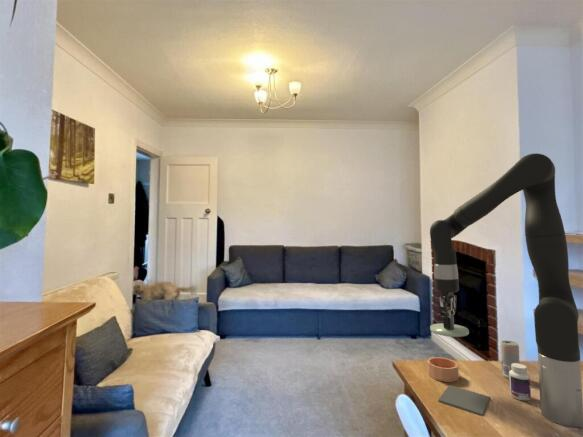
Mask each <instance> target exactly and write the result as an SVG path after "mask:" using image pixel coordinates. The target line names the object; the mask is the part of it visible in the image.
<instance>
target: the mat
mask: <svg viewBox="0 0 583 437" xmlns="http://www.w3.org/2000/svg"><path fill="white" fill-rule="evenodd" d="M437 400H438V401H437V402H439V403H442V404H446V405H449V406H452V407H455V408H458V409H461V410H464V411H467V412H470V413H473V414H476V415H479V416H482V417H483V416H484V414H485V411H486V410H487V406H488V404H489V402H490V400H491V396H489V395H487V394H482V393H479V392H476V391H472V390H469V389H465V388H461V387H458V386H454V385H452V384H449V385H448V386H447V387H446V389H445V390H444V391H443V393H441V395H440V396H439V398H438V399H437Z"/></svg>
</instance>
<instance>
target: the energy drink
mask: <svg viewBox="0 0 583 437" xmlns="http://www.w3.org/2000/svg"><path fill="white" fill-rule="evenodd" d="M500 354H501V355H500V356H501V358H500V359H501V375H502V376H503V377H504V378H506V379H509V371H510V370H512V369H511V364H512V363H518V364H521V361H520V347H519V344H518V343H517V342H516V341H512V340H501V343H500Z"/></svg>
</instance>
